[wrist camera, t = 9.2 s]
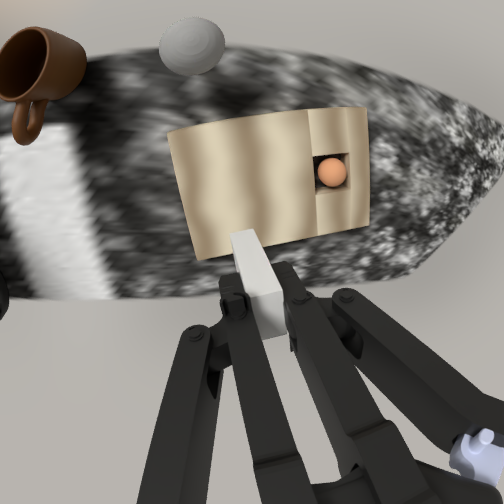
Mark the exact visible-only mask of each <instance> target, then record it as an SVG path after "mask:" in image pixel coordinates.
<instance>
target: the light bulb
mask: <svg viewBox="0 0 504 504" xmlns="http://www.w3.org/2000/svg"><path fill="white" fill-rule="evenodd" d="M224 48H225V39H224V35H223V33H222V31H221V30H220V28H219V27H218V26H217V25H216V24H214V23H213V22H211V21H209V20H207V19H203V18H199V17H191V18H185V19H182V20H180V21H177V22H176V23H174V24H173V25H171V26H170V27H169V28H168V29H167V30H166V31H165V33H164V34H163V36H162V37H161V40H160V44H159V53H160V57H161V59H162V61H163V62H164V64H165V65H166V66H167V67H168V68H169V69H170V70H171V71H173V72H175V73H177V74H181V75H187V76H192V75H199V74H202V73H205V72H207V71H209V70H210V69H212V68H213V67H214V66H215V65H216V64H217V63H218V62H219V61H220V59H221V57H222V55H223V53H224Z"/></svg>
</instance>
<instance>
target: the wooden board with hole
mask: <svg viewBox="0 0 504 504" xmlns="http://www.w3.org/2000/svg"><path fill="white" fill-rule="evenodd" d="M167 137H168V142H169V147H170V151H171V156H172V160H173V165H174V169H175V174H176V178H177V182H178V187H179V191H180V195H181V199H182V203H183V207H184V211H185V215H186V219H187V223H188V227H189V231H190V235H191V239H192V242H193V246H194V250H195V253H196V257H197V261H199V260H203V259H208V258H213V257H218V256H223V255H227V254H232V253H233V249H232V245H231V240H230V235H229V234H230V233H234V232H239V231H243V230H248V229H254V231H255V233H256V235H257V238H258V240H259V242H260V244H261V246H262V247H266V246H271V245H276V244H280V243H285V242H290V241H295V240H300V239H305V238H310V237H314V236H319V235H324V234H329V233H334V232H339V231H344V230H348V229H353V228H358V227H363V226H368V225H369V211H370V164H369V138H368V122H367V109H366V108H365V107H335V108H317V109H303V110H292V111H282V112H274V113H265V114H258V115H251V116H244V117H238V118H232V119H226V120H220V121H215V122H210V123H205V124H200V125H195V126H190V127H186V128H181V129H177V130H173V131H169V132H168V133H167ZM337 153H340V156H341V162H342V163H343V164H344V165H345V168H346V178H345V180H344V181H343V182H342V184H340V185H338V186H334V187H333V186H326V187H320V188H315V181H314V168H313V157H312V156H320V155H328V154H337Z"/></svg>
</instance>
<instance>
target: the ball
mask: <svg viewBox="0 0 504 504" xmlns="http://www.w3.org/2000/svg"><path fill="white" fill-rule="evenodd" d="M318 176H319V178H320V180H321V181H322V182H323V183H324V184H325V185H327V186H333V187H334V186H338V185H340V184H341V183H342V182H343V181H344V180H345V178H346V168H345V165H344V164H343V163H342V162H341V161H340V160H338V159H336V158H327V159H325V160H323V161H322V162H321V163H320V165H319V167H318Z"/></svg>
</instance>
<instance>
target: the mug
mask: <svg viewBox="0 0 504 504" xmlns="http://www.w3.org/2000/svg"><path fill="white" fill-rule="evenodd" d="M86 65H87V57H86V53H85V50H84V49H83V47H82V46H81V45H80V44H79V43H78V42H76V41H74V40H72V39H70V38H68V37H66V36H64V35H61V34H59V33H57V32H54V31H52V30H49V29H45V28H40V27H28V28H25V29H22V30H20V31H19V32H17V33H16V34H14V35H13V36H12V37H11V38H10V39H9V40H8V41H7V42H6V43H5V44H4V46H3V47H2V49H1V50H0V98H1V99H2V100H4V101H7V102H16V107H15V111H14V115H13V119H12V133H13V137H14V139H15V141H16V142H17V143H18V144H20V145H23V146H25V145H29V144H31V143H32V142H34V140H35V139H36V138H37V137H38V135H39V134H40V131H41V129H42V125H43V120H44V111H45V109H46V106H47V103H48V101H50V100H57V99H60V98H63V97H65V96H67V95H68V94H70V93H71V92H72V91H73V90H74V89H75V88H76V87H77V86H78V85H79V83H80V82H81V80H82V78H83V76H84V73H85V70H86ZM31 102H33V103H32V106H31V110H30V121H29V125H28V128H27V127H26V122H27V117H28V113H29V109H30V105H31Z"/></svg>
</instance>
